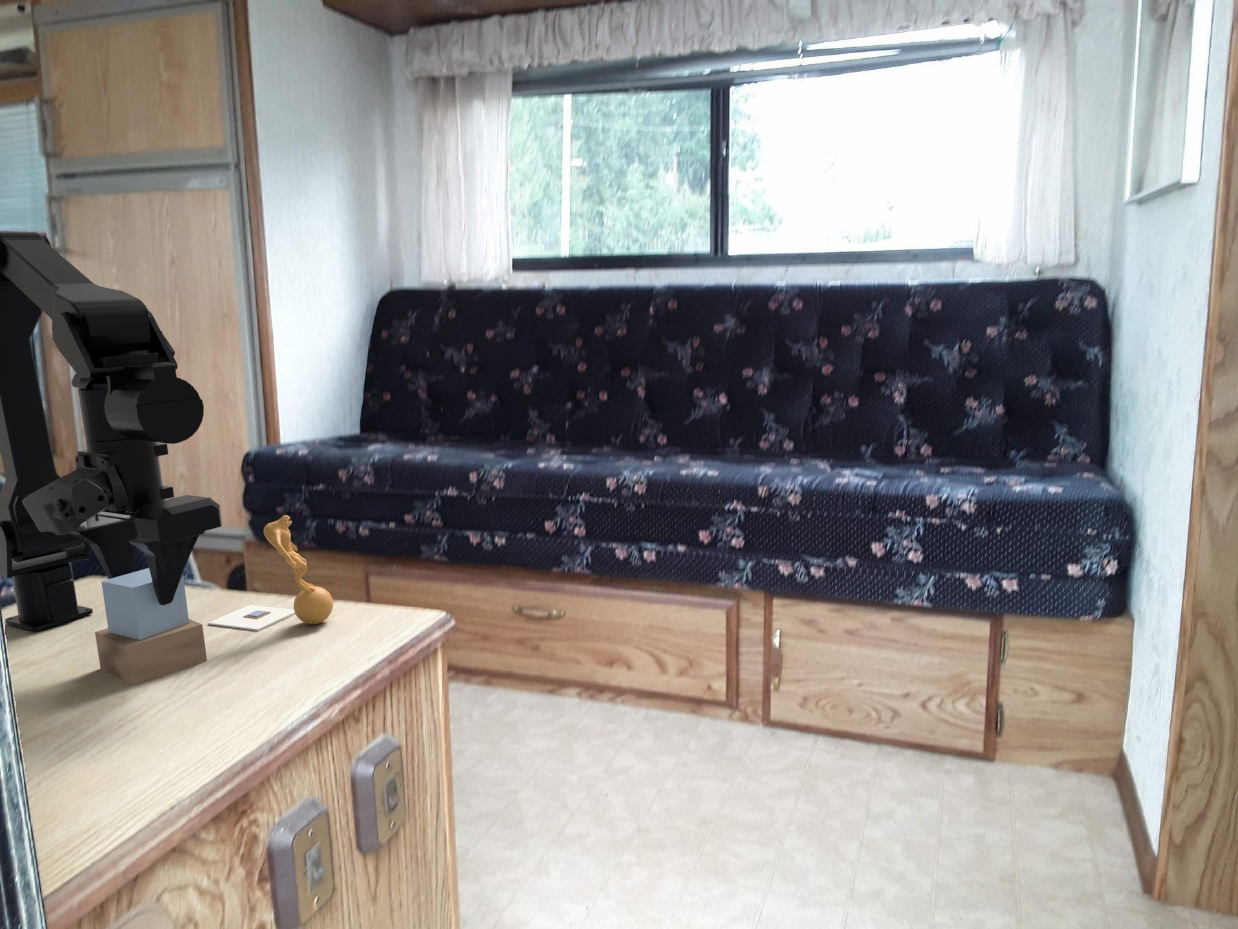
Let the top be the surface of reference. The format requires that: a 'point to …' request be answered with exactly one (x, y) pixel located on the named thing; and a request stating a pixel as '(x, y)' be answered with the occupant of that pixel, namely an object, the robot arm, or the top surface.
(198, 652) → the base brick
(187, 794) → the top surface
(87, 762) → the top surface
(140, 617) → the blue brick
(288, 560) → the figurine
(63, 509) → the robot arm
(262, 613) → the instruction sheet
